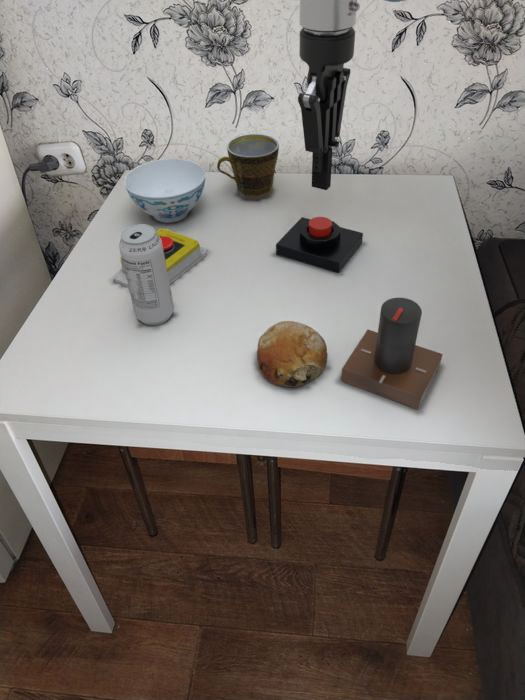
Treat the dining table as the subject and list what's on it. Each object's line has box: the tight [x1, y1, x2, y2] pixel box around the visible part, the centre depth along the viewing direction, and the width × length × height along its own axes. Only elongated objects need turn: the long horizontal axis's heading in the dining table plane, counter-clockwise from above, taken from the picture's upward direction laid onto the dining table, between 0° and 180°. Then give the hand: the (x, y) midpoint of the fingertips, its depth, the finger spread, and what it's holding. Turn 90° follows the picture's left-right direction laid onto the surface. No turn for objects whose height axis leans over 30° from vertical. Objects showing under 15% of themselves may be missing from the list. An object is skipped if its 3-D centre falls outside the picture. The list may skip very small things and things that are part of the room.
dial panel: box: [340, 329, 443, 411], centre depth 81 cm, size 11×9×3 cm
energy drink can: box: [118, 223, 175, 326], centre depth 87 cm, size 6×6×15 cm
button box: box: [275, 216, 364, 274], centre depth 103 cm, size 12×10×4 cm
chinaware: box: [123, 158, 206, 223], centre depth 112 cm, size 15×15×8 cm
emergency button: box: [113, 228, 208, 289], centre depth 100 cm, size 9×4×15 cm
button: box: [308, 216, 333, 237], centre depth 101 cm, size 4×4×2 cm
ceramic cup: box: [216, 133, 280, 201], centre depth 115 cm, size 13×10×10 cm
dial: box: [374, 297, 423, 374], centre depth 77 cm, size 5×5×9 cm
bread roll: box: [256, 320, 328, 388], centre depth 82 cm, size 10×10×8 cm
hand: (321, 186), depth 96 cm, fingers closed
